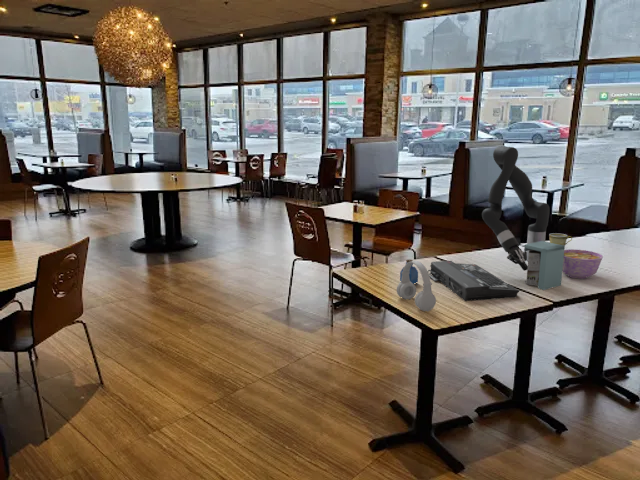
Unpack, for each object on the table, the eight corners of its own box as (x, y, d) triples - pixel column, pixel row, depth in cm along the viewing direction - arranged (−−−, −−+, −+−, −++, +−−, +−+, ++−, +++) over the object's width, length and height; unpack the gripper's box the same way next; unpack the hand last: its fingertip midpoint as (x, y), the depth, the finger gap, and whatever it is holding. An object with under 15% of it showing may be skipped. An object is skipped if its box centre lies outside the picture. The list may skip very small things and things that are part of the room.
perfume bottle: (407, 281, 243) (407, 258, 240) (417, 283, 239) (418, 260, 236) (400, 283, 239) (400, 260, 236) (410, 286, 235) (411, 262, 232)
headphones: (436, 310, 204) (438, 266, 199) (419, 313, 201) (420, 269, 196) (411, 296, 222) (412, 255, 218) (395, 298, 219) (396, 257, 215)
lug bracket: (538, 278, 242) (542, 241, 237) (561, 285, 232) (564, 245, 227) (521, 283, 235) (524, 244, 231) (543, 290, 225) (547, 249, 221)
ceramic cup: (550, 252, 289) (551, 236, 287) (545, 248, 299) (547, 233, 297) (573, 253, 287) (575, 237, 285) (568, 249, 297) (569, 233, 295)
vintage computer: (521, 297, 217) (521, 280, 215) (460, 303, 212) (460, 286, 211) (476, 272, 258) (476, 257, 256) (424, 277, 254) (424, 262, 252)
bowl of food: (550, 277, 244) (552, 255, 241) (563, 268, 258) (565, 247, 256) (594, 285, 231) (596, 261, 228) (605, 275, 245) (607, 253, 242)
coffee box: (540, 286, 231) (543, 253, 227) (525, 284, 234) (528, 252, 230) (541, 280, 239) (544, 249, 235) (527, 279, 242) (529, 248, 238)
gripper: (503, 238, 241) (522, 267, 233) (521, 235, 247) (540, 263, 240) (494, 246, 247) (512, 275, 239) (511, 243, 253) (530, 271, 246)
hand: (526, 269), depth 240 cm, fingers closed
